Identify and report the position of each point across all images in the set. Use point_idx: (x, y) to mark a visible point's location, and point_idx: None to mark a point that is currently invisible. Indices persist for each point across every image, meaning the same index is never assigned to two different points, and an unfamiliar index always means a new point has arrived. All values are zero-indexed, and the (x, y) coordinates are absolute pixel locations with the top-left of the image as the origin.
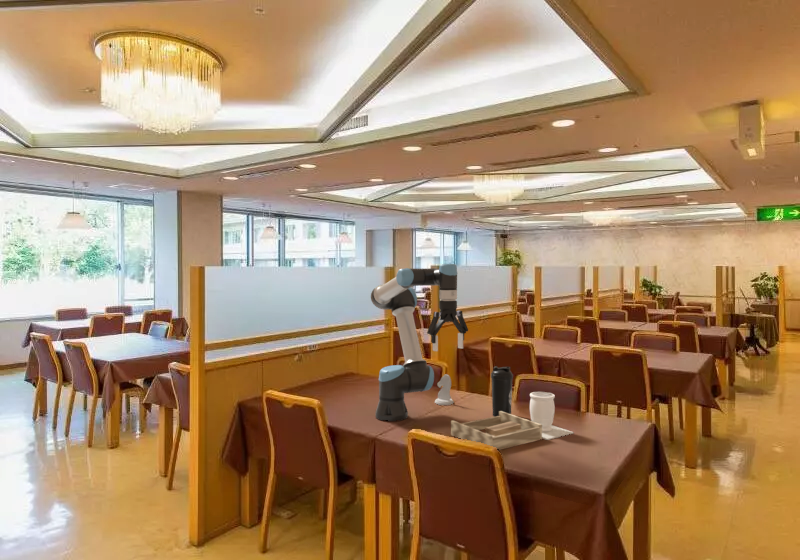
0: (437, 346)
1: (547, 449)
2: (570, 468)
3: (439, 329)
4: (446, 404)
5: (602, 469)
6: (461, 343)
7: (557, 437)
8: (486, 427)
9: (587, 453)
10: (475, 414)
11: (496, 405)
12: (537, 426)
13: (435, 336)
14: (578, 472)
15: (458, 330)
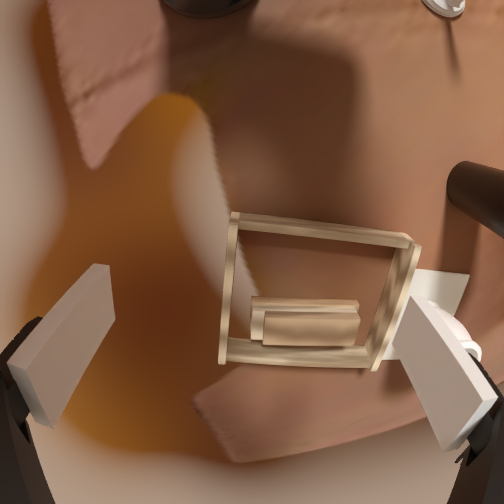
0: (94, 346)
1: (321, 384)
2: (270, 431)
3: (50, 500)
4: (431, 7)
5: (300, 445)
6: (409, 370)
7: (395, 358)
8: (269, 318)
9: (347, 415)
10: (431, 125)
11: (464, 194)
12: (371, 362)
13: (33, 403)
14: (265, 439)
15: (496, 431)
